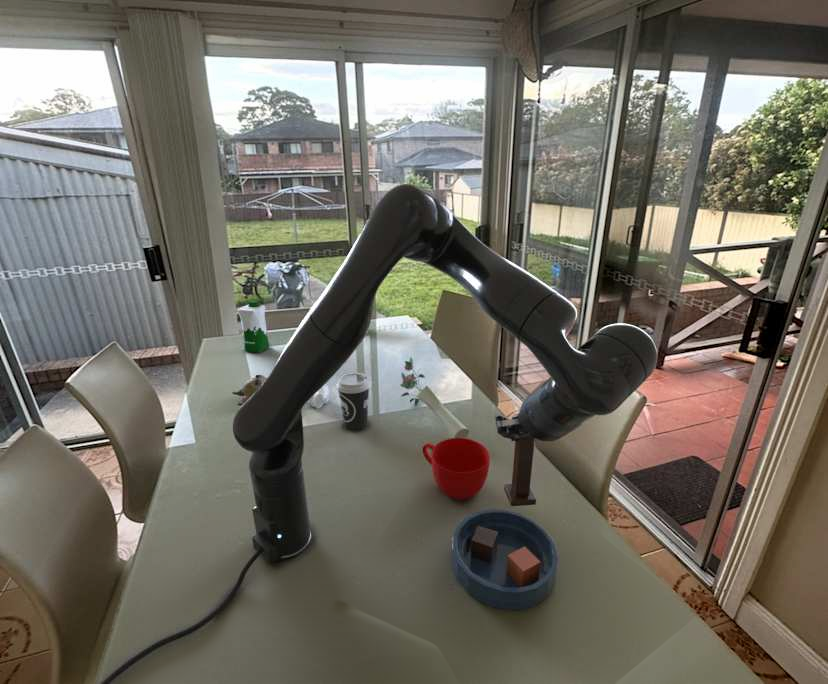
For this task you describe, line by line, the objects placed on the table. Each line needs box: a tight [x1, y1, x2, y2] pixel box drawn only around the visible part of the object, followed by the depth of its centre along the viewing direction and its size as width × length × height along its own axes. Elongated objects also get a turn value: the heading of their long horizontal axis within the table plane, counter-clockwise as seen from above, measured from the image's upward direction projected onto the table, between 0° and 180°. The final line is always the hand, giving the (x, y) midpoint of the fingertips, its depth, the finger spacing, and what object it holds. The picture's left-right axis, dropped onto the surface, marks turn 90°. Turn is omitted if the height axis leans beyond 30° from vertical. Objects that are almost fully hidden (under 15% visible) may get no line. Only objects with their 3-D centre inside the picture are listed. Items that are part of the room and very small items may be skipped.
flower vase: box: [399, 356, 470, 439], centre depth 132 cm, size 12×12×35 cm
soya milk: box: [236, 299, 270, 354], centre depth 179 cm, size 9×9×20 cm
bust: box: [307, 384, 330, 409], centre depth 139 cm, size 12×8×11 cm
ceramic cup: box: [422, 437, 491, 501], centre depth 100 cm, size 13×17×10 cm
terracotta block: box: [506, 546, 540, 587], centre depth 78 cm, size 4×4×4 cm
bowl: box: [451, 508, 559, 611], centre depth 81 cm, size 19×19×5 cm
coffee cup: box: [335, 372, 371, 432], centre depth 125 cm, size 10×10×15 cm
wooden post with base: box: [503, 435, 537, 507], centre depth 77 cm, size 4×4×16 cm
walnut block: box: [471, 526, 498, 563], centre depth 83 cm, size 4×4×4 cm
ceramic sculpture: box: [231, 374, 268, 406], centre depth 141 cm, size 11×9×15 cm
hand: (520, 434), depth 78 cm, fingers closed on wooden post with base, 2 cm apart
